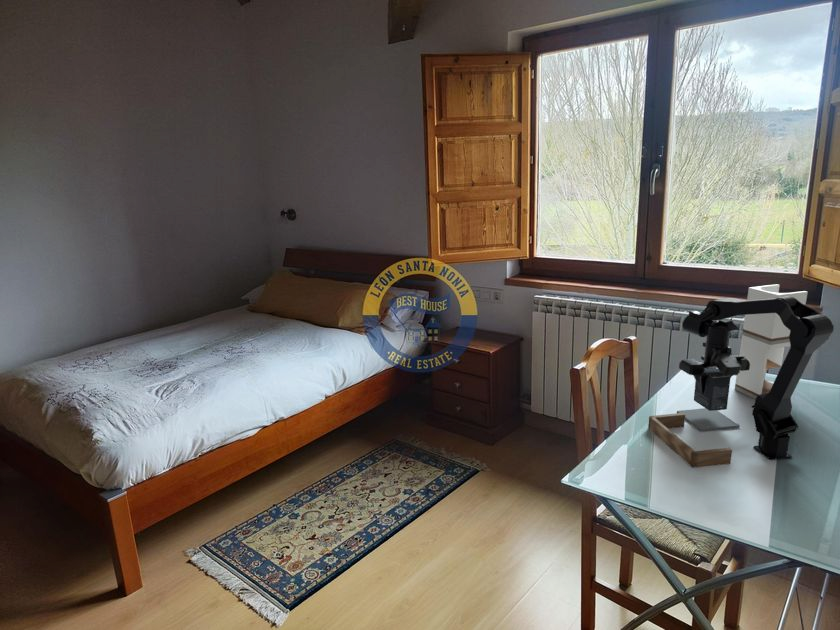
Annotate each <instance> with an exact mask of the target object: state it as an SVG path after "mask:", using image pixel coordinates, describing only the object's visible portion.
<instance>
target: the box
mask: <svg viewBox="0 0 840 630" xmlns="http://www.w3.org/2000/svg"><path fill="white" fill-rule="evenodd" d="M706 373H707V374H708V375H709V376H708V377H707V378H706V381H705V389H704V393H703V394H702V393H700V391H699V388H698V385H697V383H696V380H695V383H694V395H693V401H694V402H695V403H696V404H699V405H700V406H701V407H702V408H706V409H708V410H709V411H716V410H718V411H724V410H727V409H728V402H729V395H730V394H729V393H730V385H731V378H732V377H731V376H730V375H729V376H725V375H723V374H722V373H721V371H720V370H719V369H718V368H708V369H706ZM730 377H731V378H730Z"/></svg>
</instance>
